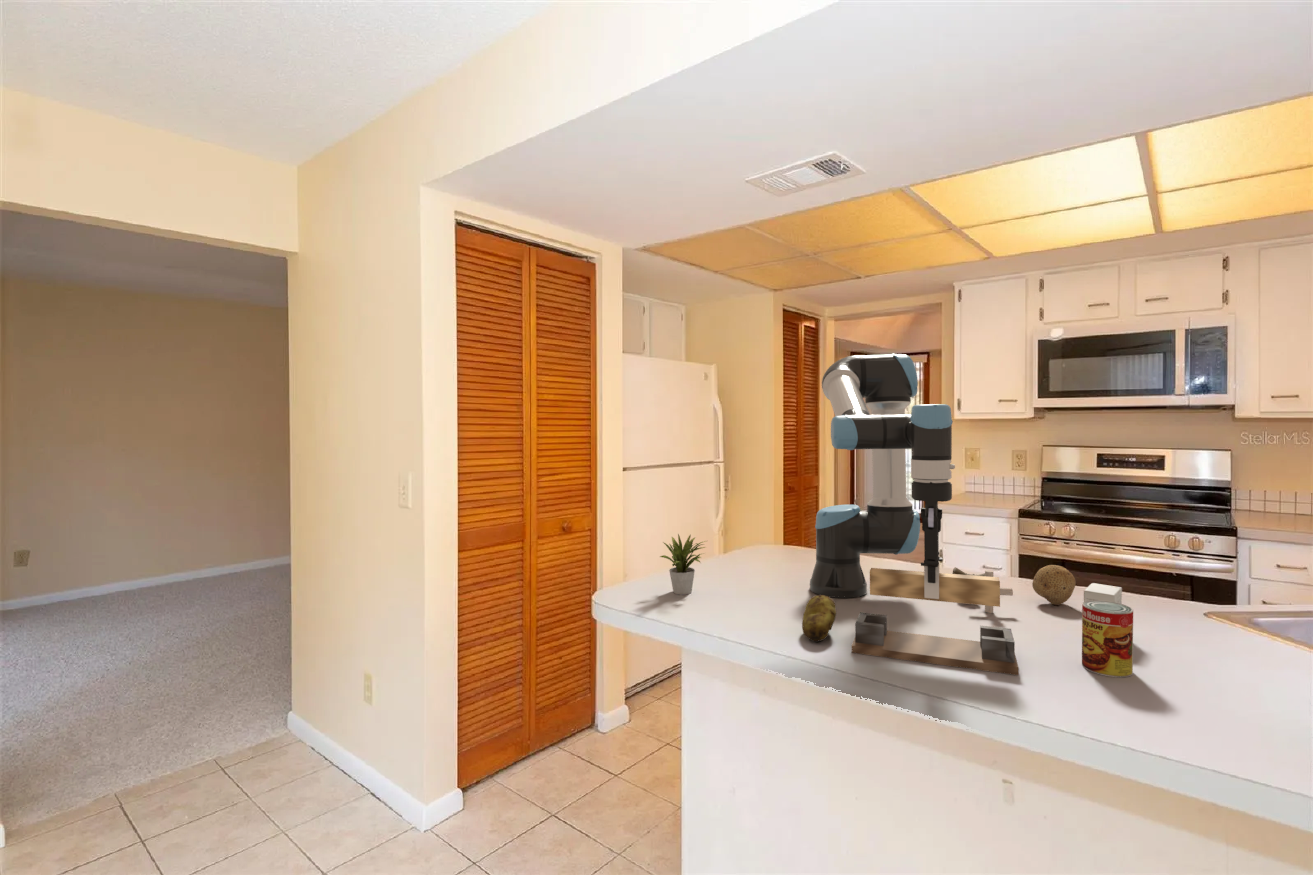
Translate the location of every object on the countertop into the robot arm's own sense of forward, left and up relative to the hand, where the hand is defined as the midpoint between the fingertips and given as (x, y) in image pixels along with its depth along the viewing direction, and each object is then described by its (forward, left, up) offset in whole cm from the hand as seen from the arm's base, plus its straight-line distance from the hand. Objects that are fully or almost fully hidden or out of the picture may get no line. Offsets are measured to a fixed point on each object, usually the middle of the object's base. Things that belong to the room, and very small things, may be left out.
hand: (932, 595), depth 130 cm
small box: (+7, +40, -12) cm, 42 cm away
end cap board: (0, 0, -12) cm, 12 cm away
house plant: (-60, -30, -12) cm, 68 cm away
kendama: (-29, +40, -12) cm, 51 cm away
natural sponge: (-13, +51, -12) cm, 54 cm away
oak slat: (0, 0, -1) cm, 1 cm away
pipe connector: (-15, +32, -12) cm, 38 cm away
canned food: (+19, +24, -12) cm, 33 cm away
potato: (-18, -15, -12) cm, 26 cm away
